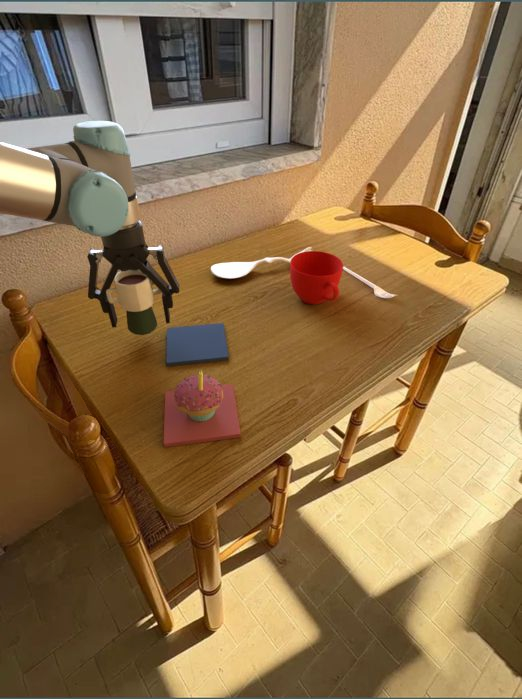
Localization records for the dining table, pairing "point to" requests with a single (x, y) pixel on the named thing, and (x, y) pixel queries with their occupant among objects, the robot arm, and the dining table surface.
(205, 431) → the rose mat
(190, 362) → the blue mat
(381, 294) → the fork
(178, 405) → the cupcake
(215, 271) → the spoon
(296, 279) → the ceramic cup
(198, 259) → the dining table surface
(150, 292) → the character mug
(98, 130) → the robot arm
